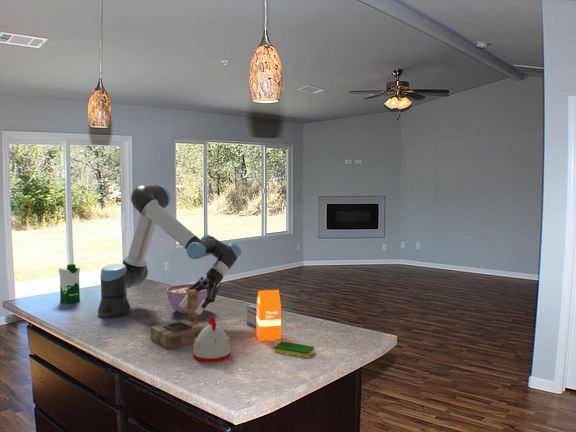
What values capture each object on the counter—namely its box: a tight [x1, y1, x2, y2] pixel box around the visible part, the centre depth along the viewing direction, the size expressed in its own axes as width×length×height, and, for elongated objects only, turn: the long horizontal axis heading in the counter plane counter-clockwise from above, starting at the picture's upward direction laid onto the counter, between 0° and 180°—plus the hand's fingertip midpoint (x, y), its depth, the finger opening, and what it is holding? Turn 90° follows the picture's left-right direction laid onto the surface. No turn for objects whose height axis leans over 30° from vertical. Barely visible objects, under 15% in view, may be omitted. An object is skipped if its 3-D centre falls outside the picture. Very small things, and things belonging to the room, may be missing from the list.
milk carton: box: [58, 263, 81, 305], centre depth 250 cm, size 9×9×20 cm
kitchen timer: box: [192, 315, 232, 364], centre depth 176 cm, size 14×14×15 cm
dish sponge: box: [273, 341, 315, 358], centre depth 182 cm, size 7×14×2 cm, turn 66°
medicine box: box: [246, 304, 257, 329], centre depth 213 cm, size 8×4×9 cm, turn 47°
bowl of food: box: [166, 283, 207, 315], centre depth 235 cm, size 20×20×12 cm
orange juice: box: [256, 289, 282, 342], centre depth 197 cm, size 8×9×20 cm
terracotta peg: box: [187, 290, 199, 325], centre depth 212 cm, size 4×4×16 cm
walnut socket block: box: [150, 319, 205, 350], centre depth 194 cm, size 16×16×6 cm
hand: (189, 310), depth 210 cm, fingers open, 13 cm apart
